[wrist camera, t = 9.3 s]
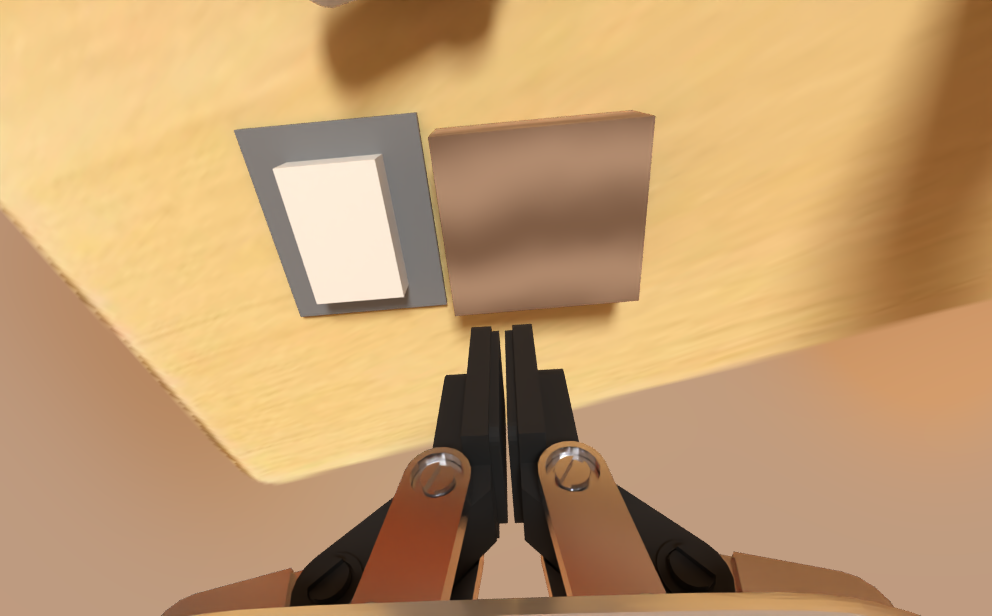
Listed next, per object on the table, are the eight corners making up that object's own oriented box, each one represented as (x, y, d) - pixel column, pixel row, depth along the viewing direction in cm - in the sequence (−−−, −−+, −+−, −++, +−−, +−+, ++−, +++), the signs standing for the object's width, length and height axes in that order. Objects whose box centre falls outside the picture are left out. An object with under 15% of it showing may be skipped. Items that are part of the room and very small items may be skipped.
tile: (374, 159, 24) (381, 153, 26) (272, 168, 24) (286, 162, 26) (403, 296, 29) (408, 284, 30) (316, 304, 29) (326, 291, 31)
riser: (435, 128, 26) (427, 137, 22) (632, 110, 26) (655, 115, 22) (458, 288, 31) (455, 316, 28) (621, 274, 31) (638, 300, 27)
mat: (237, 129, 26) (233, 130, 25) (416, 112, 25) (415, 112, 25) (302, 314, 32) (300, 316, 32) (447, 301, 32) (446, 304, 31)
